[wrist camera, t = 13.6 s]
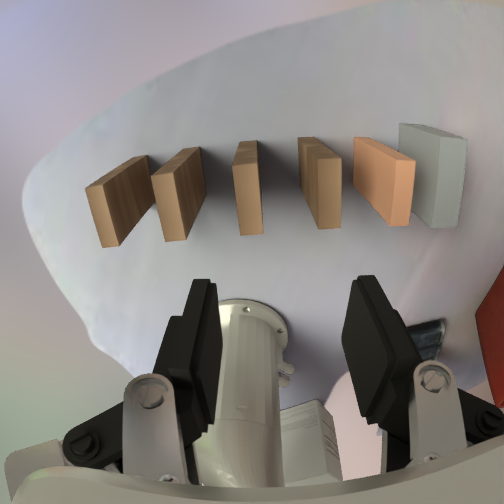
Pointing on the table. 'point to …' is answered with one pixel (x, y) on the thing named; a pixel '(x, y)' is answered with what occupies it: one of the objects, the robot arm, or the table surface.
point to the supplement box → (309, 446)
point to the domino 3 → (248, 188)
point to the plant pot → (493, 338)
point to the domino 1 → (121, 200)
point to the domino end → (384, 179)
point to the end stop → (435, 172)
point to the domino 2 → (179, 193)
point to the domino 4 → (321, 181)
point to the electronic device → (428, 339)
